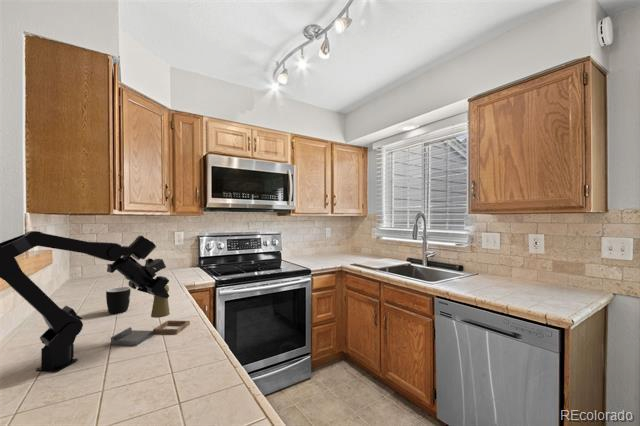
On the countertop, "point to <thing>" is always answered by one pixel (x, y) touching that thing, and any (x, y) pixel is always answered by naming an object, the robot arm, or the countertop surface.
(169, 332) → the socket collar
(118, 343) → the gray hardcover book
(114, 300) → the mug
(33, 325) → the countertop surface
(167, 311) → the cork
